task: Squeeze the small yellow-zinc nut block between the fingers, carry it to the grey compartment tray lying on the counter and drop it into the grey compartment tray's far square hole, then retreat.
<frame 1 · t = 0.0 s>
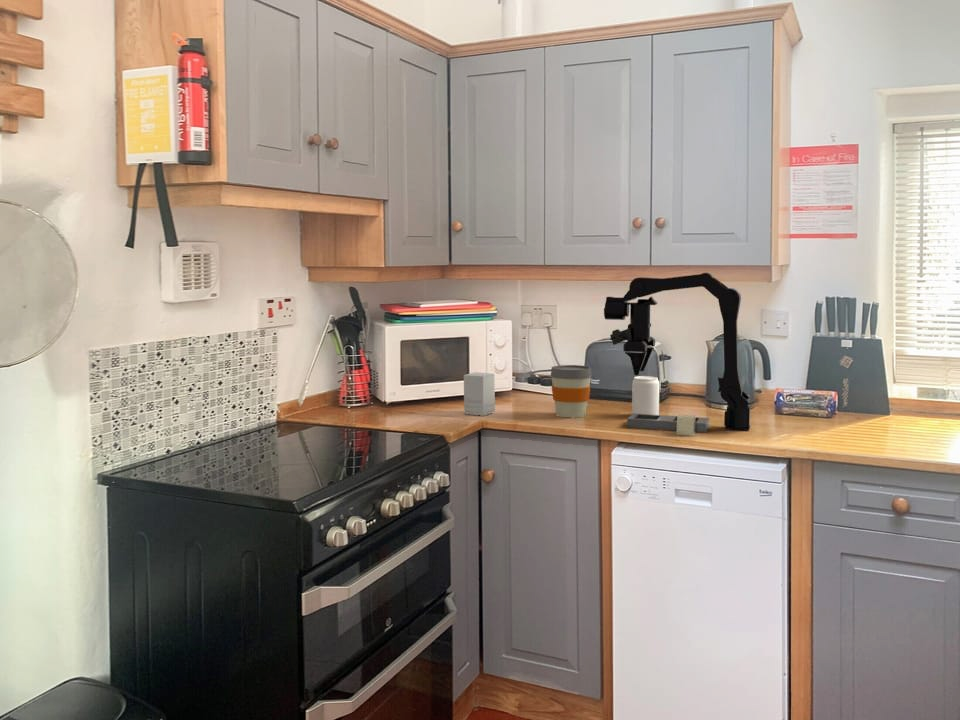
hand: (639, 373, 248), 15 cm above the worktop, tool pointing down, fingers open, 9 cm apart
reusable coffee cup: (570, 416, 261), on the worktop
supplement box: (479, 414, 266), on the worktop
grey compartment tray: (668, 426, 243), on the worktop
nut block: (685, 434, 233), on the worktop
beverage can: (645, 416, 259), on the worktop
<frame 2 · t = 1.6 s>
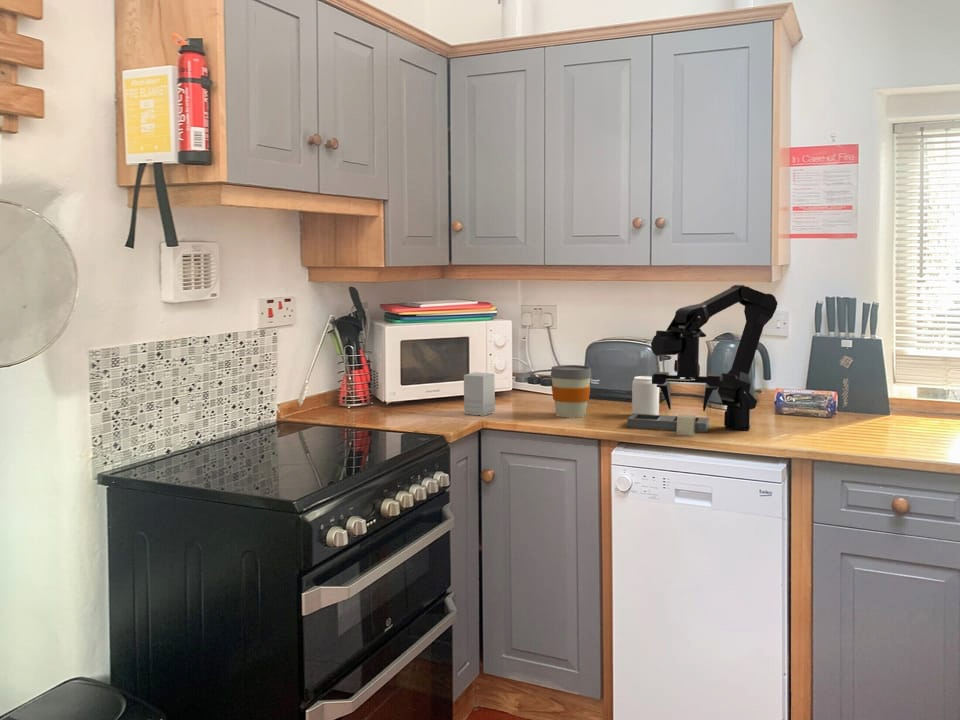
hand: (686, 410, 232), 7 cm above the worktop, tool pointing down, fingers open, 9 cm apart
nothing on the worktop moved.
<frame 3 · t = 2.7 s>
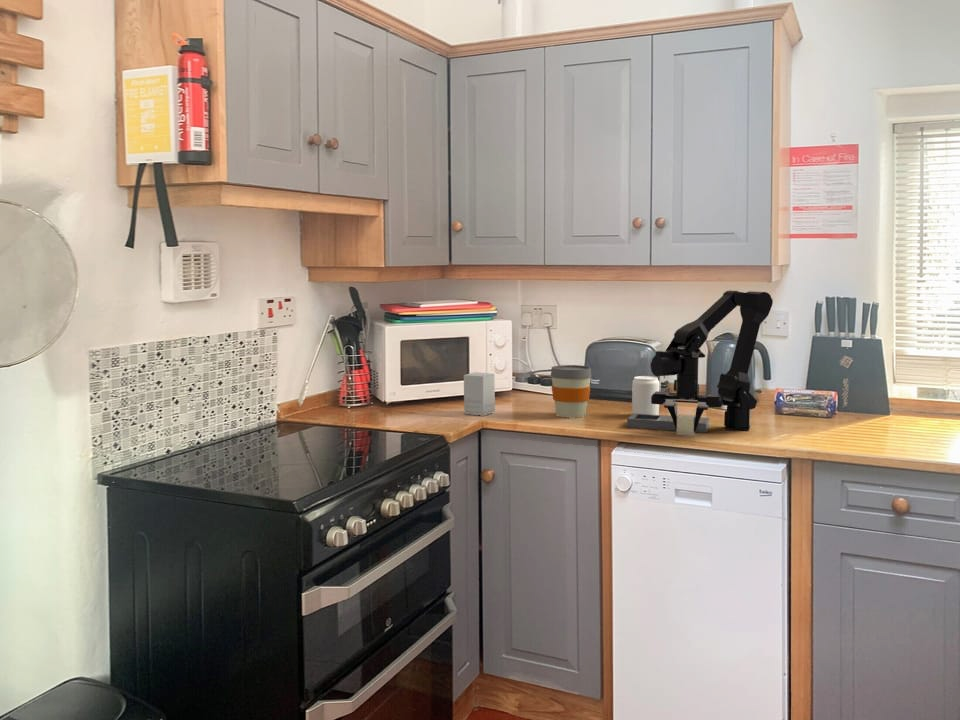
hand: (686, 430, 233), 1 cm above the worktop, tool pointing down, fingers closed on nut block, 4 cm apart
nut block: (686, 433, 233), on the worktop, touching gripper
everything else where it was.
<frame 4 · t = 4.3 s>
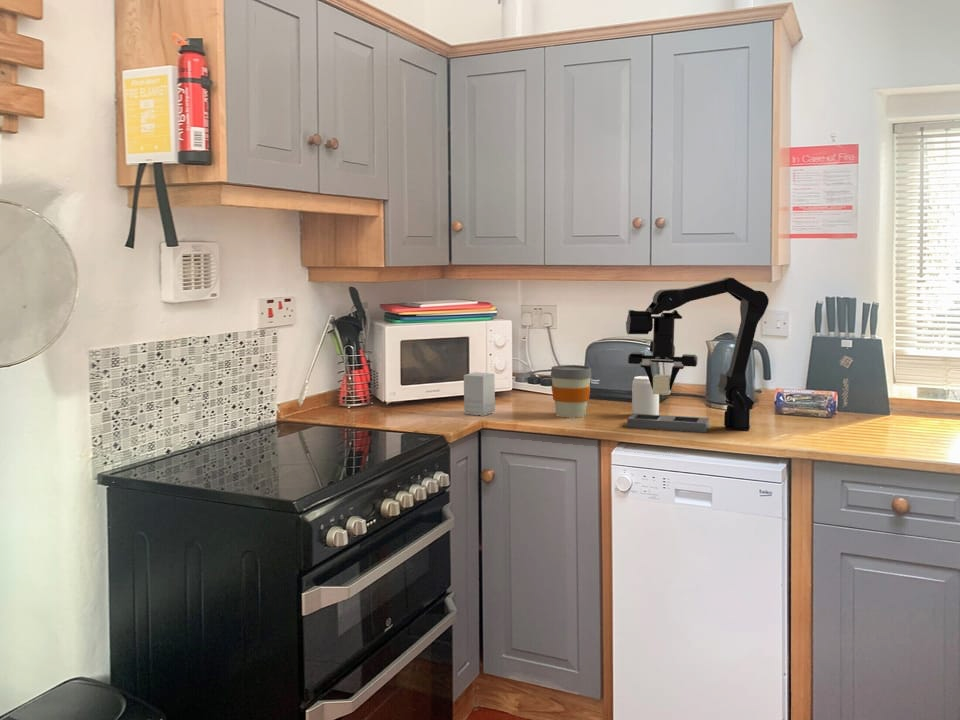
hand: (661, 389, 239), 11 cm above the worktop, tool pointing down, fingers closed on nut block, 4 cm apart
nut block: (661, 393, 239), point 10 cm above the worktop, touching gripper
everything else where it was.
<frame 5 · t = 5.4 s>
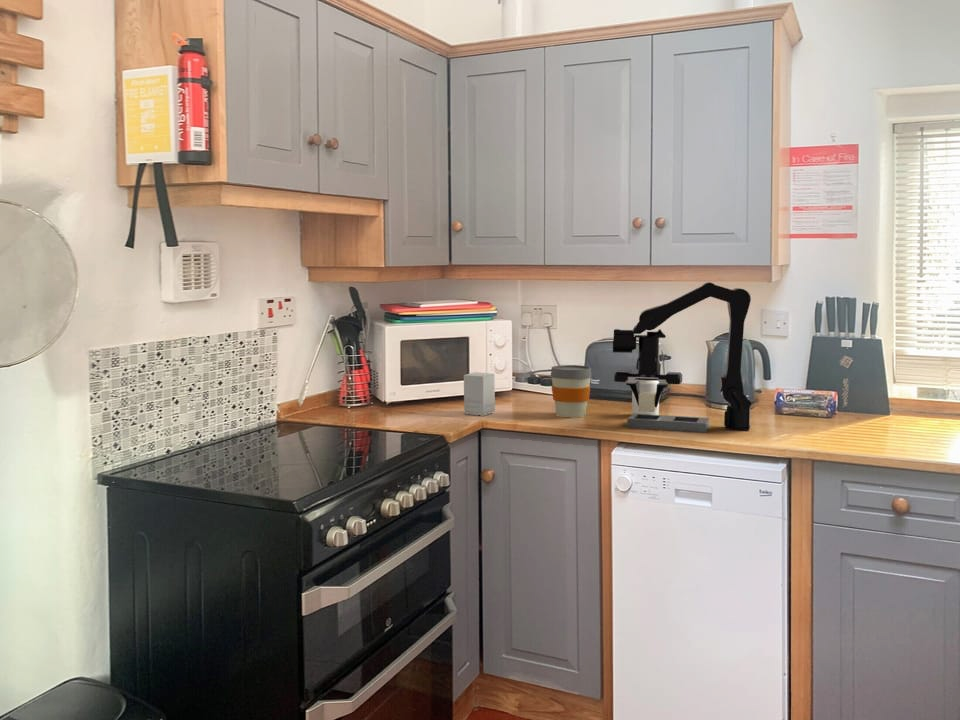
hand: (647, 406, 244), 6 cm above the worktop, tool pointing down, fingers closed on nut block, 4 cm apart
nut block: (647, 410, 244), point 5 cm above the worktop, touching gripper
everything else where it was.
when the fingers open (3 cm above the worktop, at t = 6.2 s): nut block drops 2 cm, resting in grey compartment tray.
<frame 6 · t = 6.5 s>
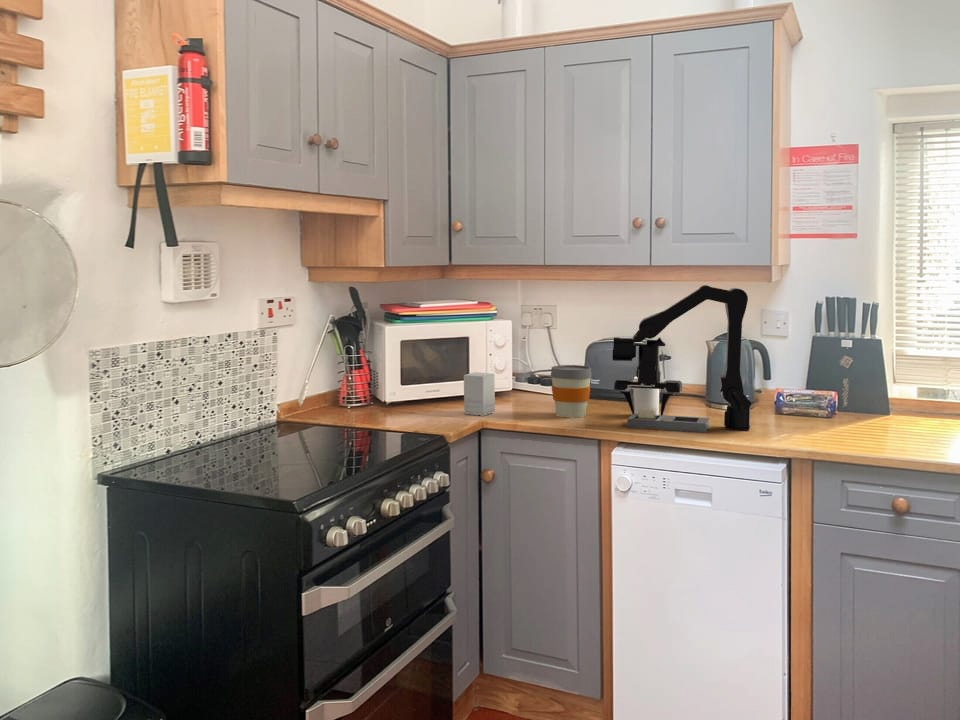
hand: (647, 414, 244), 3 cm above the worktop, tool pointing down, fingers open, 8 cm apart
nut block: (647, 426, 245), resting in grey compartment tray
everything else where it was.
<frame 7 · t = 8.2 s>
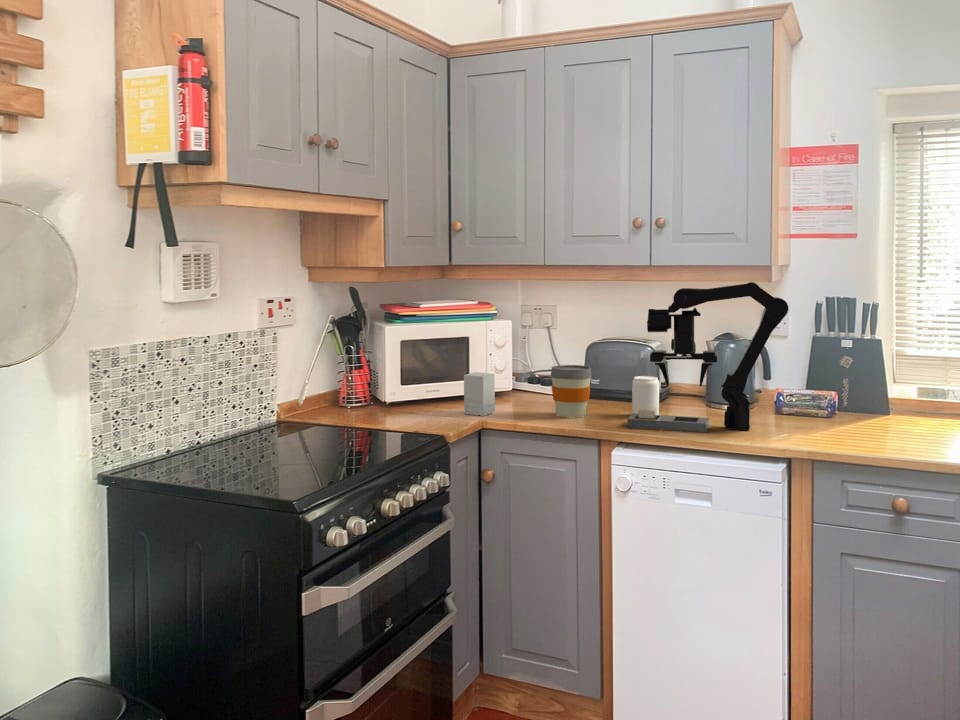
hand: (684, 386, 243), 12 cm above the worktop, tool pointing down, fingers open, 9 cm apart
nothing on the worktop moved.
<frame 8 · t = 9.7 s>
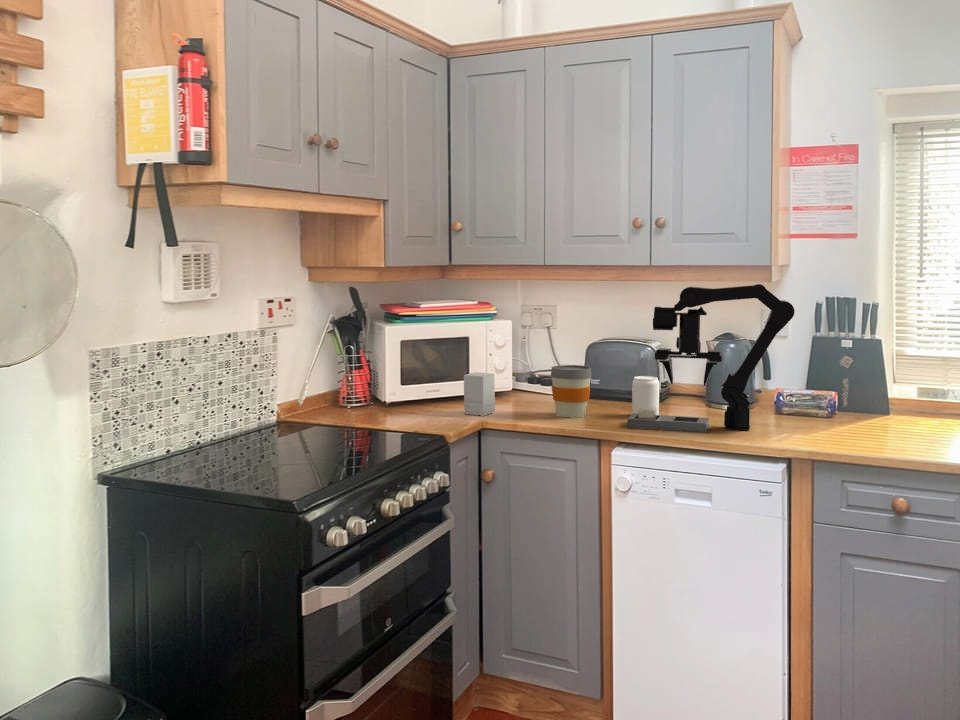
hand: (688, 384, 243), 12 cm above the worktop, tool pointing down, fingers open, 9 cm apart
nothing on the worktop moved.
at the end: nut block 0.1 cm from the target spot on the grey compartment tray, point 0.0 cm above the grey compartment tray's base; the gripper is holding nothing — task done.
